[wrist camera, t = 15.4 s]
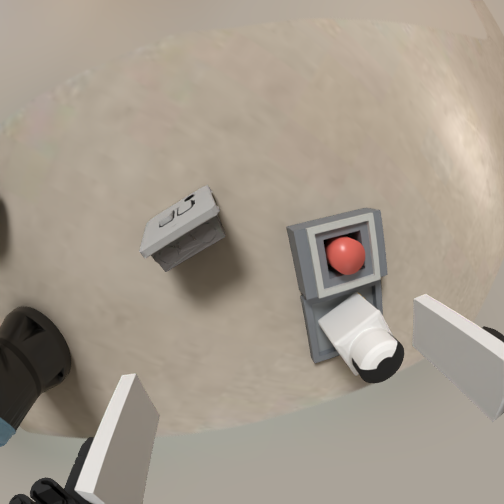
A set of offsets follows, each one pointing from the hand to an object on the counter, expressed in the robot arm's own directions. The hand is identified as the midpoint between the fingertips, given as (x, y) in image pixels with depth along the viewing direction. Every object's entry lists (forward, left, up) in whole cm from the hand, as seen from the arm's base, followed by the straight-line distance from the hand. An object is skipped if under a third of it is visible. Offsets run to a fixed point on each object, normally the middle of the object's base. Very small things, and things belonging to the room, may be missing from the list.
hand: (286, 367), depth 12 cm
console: (+12, -9, -27) cm, 31 cm away
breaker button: (+12, -4, -24) cm, 27 cm away
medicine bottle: (+12, -15, -25) cm, 31 cm away
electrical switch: (-6, +5, -27) cm, 28 cm away
